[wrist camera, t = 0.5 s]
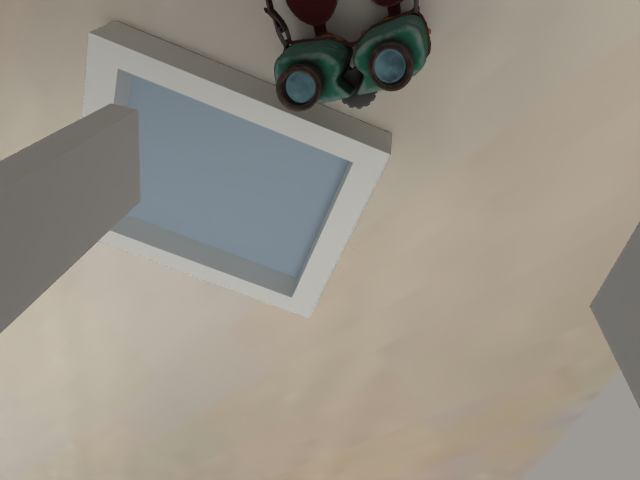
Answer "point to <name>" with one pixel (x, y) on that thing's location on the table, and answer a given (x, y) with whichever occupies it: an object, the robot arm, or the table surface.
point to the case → (233, 170)
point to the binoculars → (347, 56)
